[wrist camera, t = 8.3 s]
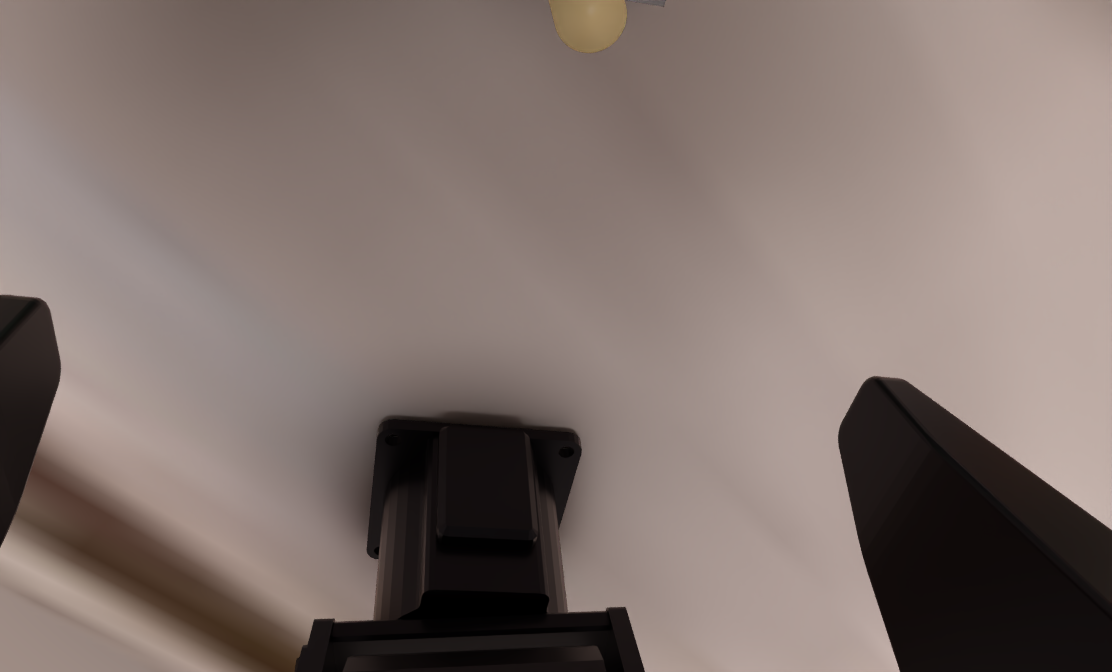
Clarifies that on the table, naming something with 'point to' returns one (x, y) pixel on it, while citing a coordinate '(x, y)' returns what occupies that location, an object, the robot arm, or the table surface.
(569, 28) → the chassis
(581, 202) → the table surface
